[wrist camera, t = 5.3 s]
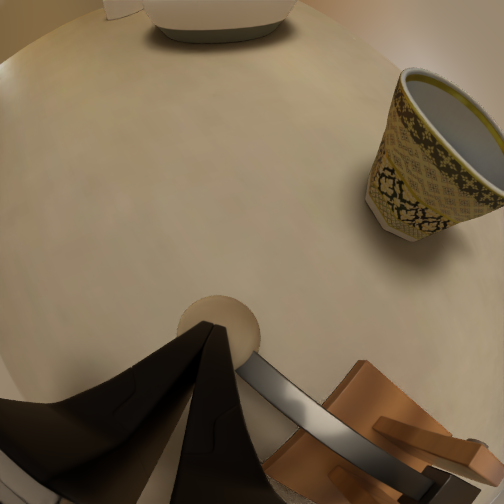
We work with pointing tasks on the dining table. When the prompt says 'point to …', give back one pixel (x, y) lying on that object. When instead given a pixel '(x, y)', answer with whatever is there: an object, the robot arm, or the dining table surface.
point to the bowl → (217, 18)
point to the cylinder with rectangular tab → (121, 8)
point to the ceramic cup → (435, 159)
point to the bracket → (381, 434)
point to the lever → (320, 410)
